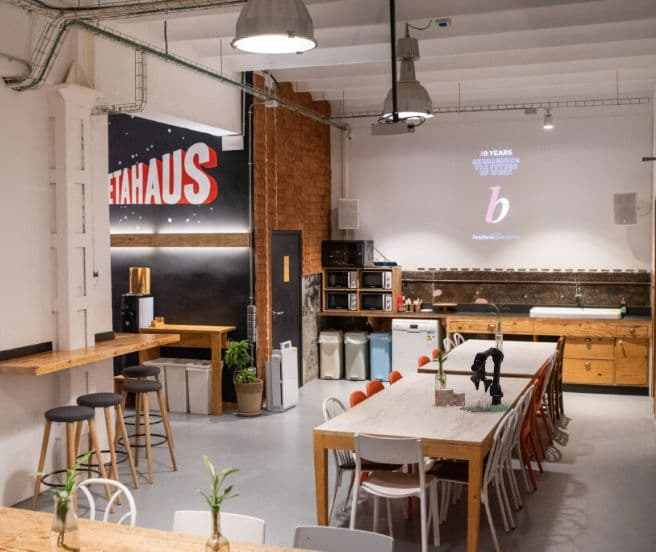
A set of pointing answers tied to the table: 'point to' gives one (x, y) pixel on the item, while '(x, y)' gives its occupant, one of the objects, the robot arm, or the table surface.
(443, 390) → the stack of blocks
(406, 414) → the table surface
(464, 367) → the table surface
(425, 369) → the table surface
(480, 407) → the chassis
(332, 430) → the table surface
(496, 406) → the board
